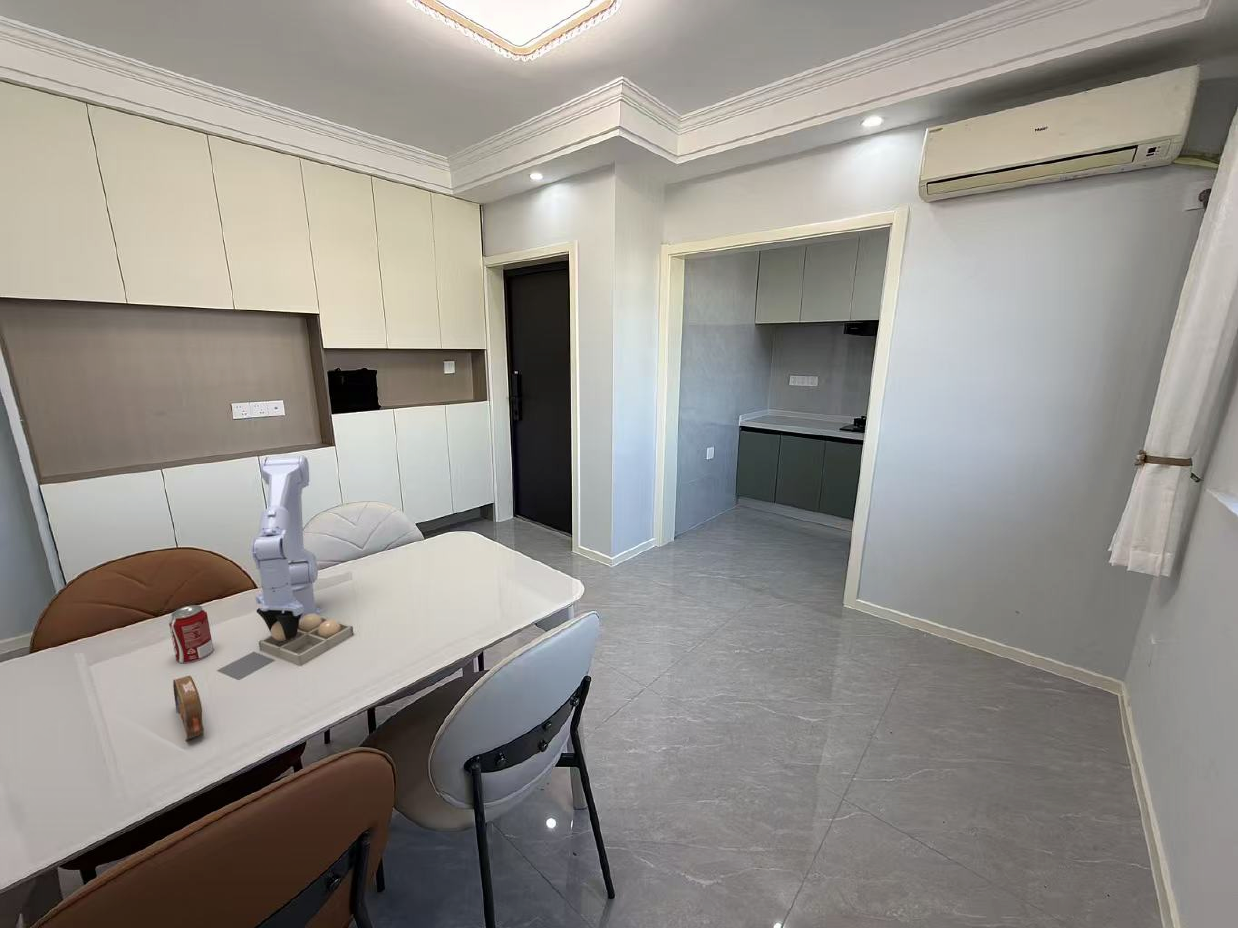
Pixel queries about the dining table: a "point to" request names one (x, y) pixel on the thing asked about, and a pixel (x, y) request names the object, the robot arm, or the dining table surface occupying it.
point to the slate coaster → (245, 665)
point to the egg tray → (303, 639)
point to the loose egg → (277, 632)
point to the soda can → (190, 634)
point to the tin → (188, 705)
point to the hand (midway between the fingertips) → (283, 635)
